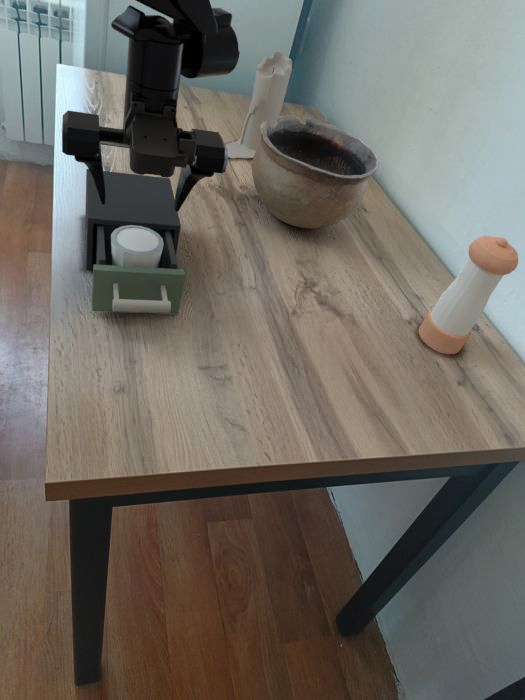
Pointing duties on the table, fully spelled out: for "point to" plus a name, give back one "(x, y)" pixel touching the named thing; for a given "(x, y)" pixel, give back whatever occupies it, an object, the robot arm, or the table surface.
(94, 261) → the cabinet
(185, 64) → the robot arm
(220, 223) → the table surface
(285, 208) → the ceramic bowl
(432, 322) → the salt shaker
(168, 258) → the drawer
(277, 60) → the candle
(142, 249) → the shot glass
